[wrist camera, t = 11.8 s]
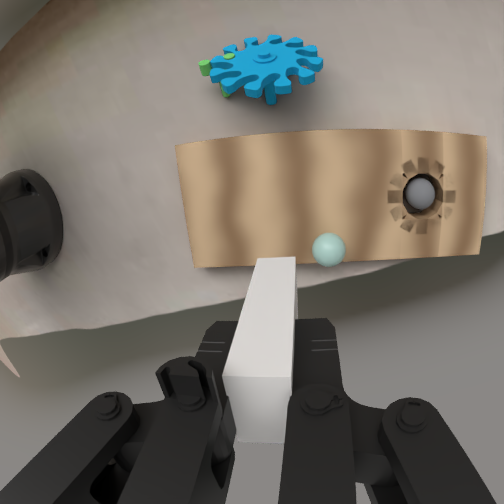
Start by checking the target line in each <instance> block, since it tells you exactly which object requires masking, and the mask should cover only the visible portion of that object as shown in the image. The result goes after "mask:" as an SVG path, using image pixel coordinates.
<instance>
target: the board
mask: <svg viewBox="0 0 504 504" xmlns="http://www.w3.org/2000/svg"><path fill="white" fill-rule="evenodd" d="M175 150H176V158H177V165H178V172H179V179H180V185H181V192H182V198H183V205H184V211H185V217H186V223H187V229H188V235H189V241H190V246H191V252H192V257H193V263H194V268H198V267H228V266H255V265H256V262H257V259H258V258H276V257H295V258H296V264H304V263H318V262H317V261H316V260H315V259H314V257H313V254H312V246H313V243H314V241H315V239H316V238H317V237H318V236H320V235H321V234H324V233H334V234H337V235H338V236H340V237H341V238H342V240H343V241H344V243H345V247H346V252H345V256H344V258H343V260H342V261H341V262H348V261H368V260H387V259H406V258H423V257H441V256H458V255H474V254H479V250H480V243H481V236H482V228H483V219H484V208H485V194H486V171H487V143H486V136H477V135H469V134H459V133H447V132H434V131H418V130H391V129H339V130H312V131H294V132H280V133H268V134H257V135H247V136H238V137H229V138H221V139H214V140H206V141H199V142H193V143H186V144H180V145H175ZM418 173H421V174H426V175H428V176H429V178H430V180H431V182H432V184H433V186H434V191H435V198H434V201H433V203H432V204H431V205H430V206H429V207H427V208H425V209H424V210H422V211H421V212H418V213H409V212H407V211H406V209H405V207H404V205H403V189H404V187H405V185H406V183H407V182H408V180H409V179H410V178H412V177H413V176H415V175H417V174H418Z"/></svg>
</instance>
